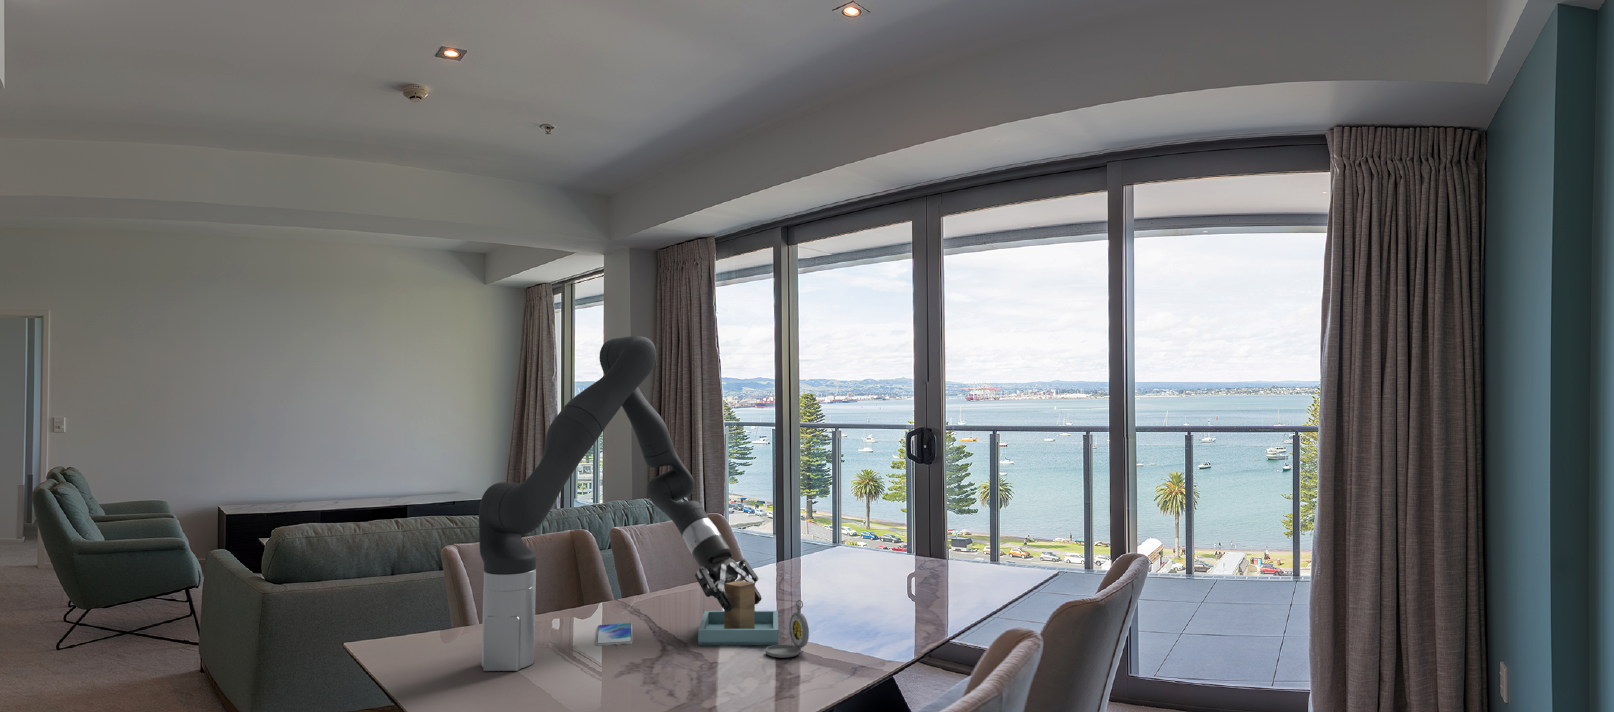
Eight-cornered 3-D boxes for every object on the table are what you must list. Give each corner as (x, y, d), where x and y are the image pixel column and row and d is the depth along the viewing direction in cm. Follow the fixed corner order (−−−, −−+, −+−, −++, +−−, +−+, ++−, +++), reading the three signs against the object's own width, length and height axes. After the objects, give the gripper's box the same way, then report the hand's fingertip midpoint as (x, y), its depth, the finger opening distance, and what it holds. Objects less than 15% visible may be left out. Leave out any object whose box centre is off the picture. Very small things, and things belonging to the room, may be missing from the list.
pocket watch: (759, 656, 168) (759, 603, 169) (780, 645, 176) (781, 595, 176) (796, 662, 164) (796, 608, 165) (817, 651, 172) (817, 599, 172)
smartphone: (595, 643, 175) (597, 624, 189) (595, 648, 175) (597, 628, 189) (632, 641, 176) (631, 622, 191) (632, 645, 176) (631, 626, 191)
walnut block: (724, 631, 183) (724, 583, 184) (738, 627, 187) (739, 580, 187) (739, 635, 180) (740, 586, 181) (754, 631, 184) (754, 583, 184)
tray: (778, 644, 176) (778, 629, 176) (698, 645, 175) (698, 630, 175) (777, 624, 192) (777, 610, 192) (704, 624, 191) (704, 610, 191)
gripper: (691, 537, 184) (730, 600, 176) (738, 529, 195) (776, 589, 187) (673, 559, 187) (711, 623, 179) (720, 550, 198) (758, 610, 190)
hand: (744, 605), depth 183 cm, fingers open, 8 cm apart
